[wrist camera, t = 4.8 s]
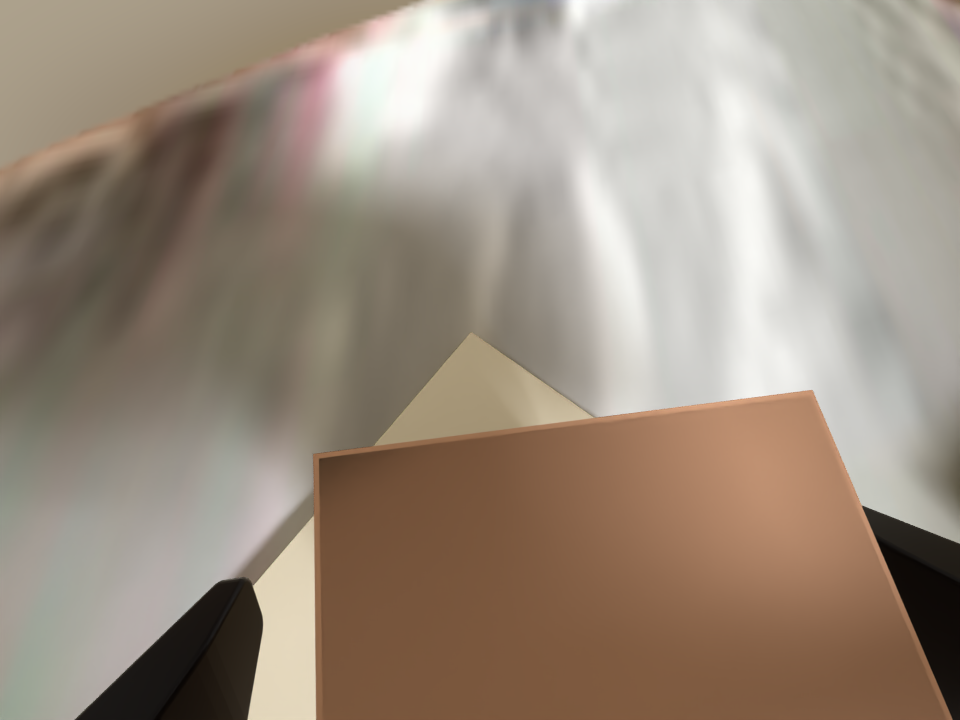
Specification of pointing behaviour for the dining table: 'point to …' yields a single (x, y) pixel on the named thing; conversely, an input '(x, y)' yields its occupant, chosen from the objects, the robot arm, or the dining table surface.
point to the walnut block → (611, 575)
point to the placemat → (431, 414)
